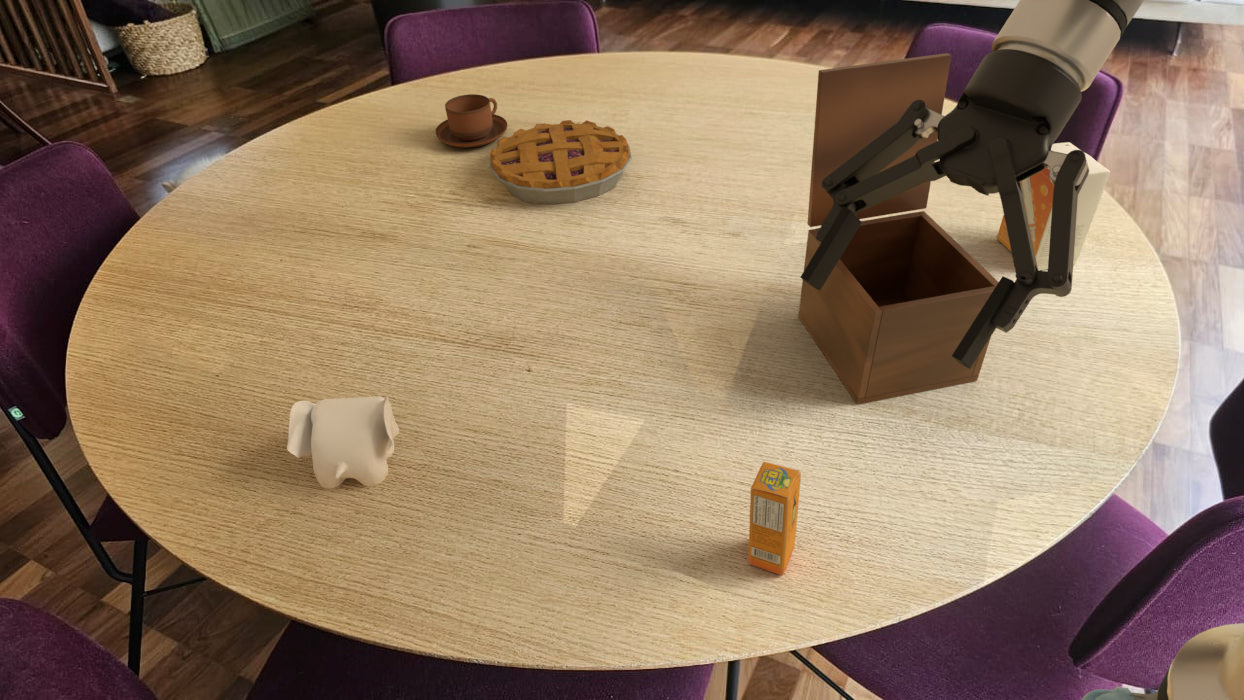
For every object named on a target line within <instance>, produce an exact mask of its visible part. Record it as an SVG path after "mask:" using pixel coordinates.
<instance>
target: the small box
mask: <svg viewBox="0 0 1244 700" xmlns="http://www.w3.org/2000/svg"><path fill="white" fill-rule="evenodd" d="M1074 150H1081V149H1080V148H1078V147H1077V146H1076V145H1074V144H1073V143H1072V142H1069V141H1065V142H1057V143H1053V145H1052V147H1051V151H1055V152H1060V153H1065V154H1068V153H1070V152H1071V151H1074ZM1084 153H1085V156H1086V160H1087V163H1088V168H1089V174H1088V176H1087V178H1086V180H1085V182H1084V184H1083V186H1082V188H1081V190H1080V192H1079V194H1078V201H1077V216H1076V231H1075V246H1074V261H1073V266H1076V265H1077V262H1078V261H1079V257H1080V254H1081V252H1082V250H1083V247H1084V244H1085V242H1086V239H1087V236H1088V233H1089V230H1090V228H1091V225H1092V223H1093V220H1094V217H1095V214H1096V211H1097V209H1098V206H1099V204H1100V201H1101V198H1102V197H1103V193H1104V190H1105V188H1106V185H1107V182H1108V179H1109V177H1110V174H1111V170H1110V169H1108V168H1107V167H1106V166H1104V165H1103V164H1102V163H1099V162H1098V161H1097V160H1095V158H1093V157H1092V156H1091V155H1090V154H1088V153H1086V152H1084ZM1020 183H1021V188H1022V192H1023V197H1024V202H1025V209H1026V214H1027V219H1028V224H1029V228H1030V233H1031V238H1032V242H1033V247H1034V252H1035V257H1036V261H1037V266H1038V271H1047V270H1048V260H1049V246H1050V232H1051V218H1052V205H1053V191H1054V184H1052V182H1051V180H1050V177H1049V170H1048V169H1047V168H1045V169H1043V170H1042V171H1040V172H1039V173H1037V174H1035V175H1033V176H1031V177H1029V178H1027V179H1025V180H1023V181H1021V182H1020ZM996 240H998V242H1000V243H1001V244H1002V245H1003V246H1004V247H1005V248H1006V249H1008V251H1010V253H1012V251H1011V247H1010V242H1009V237H1008V232H1007V227H1006V222H1005V217H1004V214H1003V215H1002V219H1001V221H1000V226H999V229H998V233H997V236H996Z"/></svg>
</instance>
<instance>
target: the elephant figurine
mask: <svg viewBox="0 0 1244 700" xmlns="http://www.w3.org/2000/svg"><path fill="white" fill-rule="evenodd" d="M392 405H393V404H392V403H391V402H390V397H389V396H387V395H386V396H385V397H383V396H381V395H374V396H373V395H372V396H360V397H359V396H357V397H339V398H338V397H337V398H324V399H321V400H319V401H317V402H316V403H314V402H312V401H309V400H299V401H296V402H295V403H294V404H293V405H292V406H291V408H290V412H289V419H288V434H287V435H288V436H287V445H286V450H287V451H288V452H289V453H290V454H291V455H293V456H295V458H297V459H300V458H307V457H310V456H311V460H312V468H313V474H314V476H315V478H316V481H317V483H318V484H319V485H320V486H321V487H322V488H324V489H329V490H330V489H335V488H337V487H340V486H341V485H342V484H343V483H344V481H345V480H346V479H354V480H356V481H358V482H359V483H360V484H361V485H362V486H364V487H369V488H370V487H373V486H377V485H379V484H380V483H382V482H383V481H385V479H386V477H387V476H388V474H389V464H388V462H387V461H388V459H389V458H390V457H391V456H393V454H394V452H395V448H396V447H395V440H394V439H395V438H396V437H397V436H399V433H400V428H399V425H398V424H397V422H396V419H395V416H394V413H393V409H392Z"/></svg>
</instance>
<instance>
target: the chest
mask: <svg viewBox="0 0 1244 700" xmlns="http://www.w3.org/2000/svg"><path fill="white" fill-rule="evenodd" d="M861 222H862V223H861V225H860V226H859V228H858V230H857V231H856V233H855V235H854V236H853V238H852V239H851V241H850V243H849V244H848V246H847V248H846V249H845V251H844V252H843V254H842V256H841V257H840V259H839V261H838V262H837V264H836V266H835V267H834V269H833V270H832V272H831V274H830V275H829V277H828V279H827V280H826V282H825V284H824V285H823V287H822V288H821V290H820V291H819V290H817V289H816V288H814V287H812V286H811V285H809V284H808V283H807V282H806V281H804V280H803V279H802V281H801V289H800V291H801V293H800V299H799V308H798V314H797V317H798V319H799V320H800V322H801V323H802V325H803V326H804V328H805V329H806V330H807V332H808V334H809V335H810V336H811V338H812V339H813V342H815V344H816V346H817V347H818V348H819V350H820V351H821V353H822V355H823V356H824V357H825V359H826V360H827V362H828V363H829V365H830V367H831V368H832V369H833V371H834V373H835V374H836V375H837V377H838V378H839V380H840V381H841V383H842V385H843V386H844V387H845V389H846V390H847V392H848V393H849V395H850V397H851V398H852V399H853V401H854V402H855V404H856V405H863V404H867V403H871V402H876V401H882V400H886V399H892V398H896V397H901V396H907V395H911V394H912V395H913V394H917V393H921V392H927V391H932V390H936V389H942V388H948V387H952V386H957V385H961V384H962V385H963V384H967V383H972V382H977V381H978V379H979V376H980V373H981V370H982V367H983V363H984V361H985V357H986V354H987V350H988V348H989V345H990V341H991V338H992V336H991V337H990V339H989V340H988V342H987V343H986V345H985V346H984V348H983V349H982V351H981V352H980V354H979V356H978V357H977V359H976V360H975V362H974V363H973V365H972V366H971V368H970V369H969V368H967V367H965V366H963V365H961V364H960V363H959V362H958V361H957V360H955V359H954V358H953V357H952V355H953V353H954V351H955V350H956V348H957V347H958V345H959V344H960V342H961V341H962V339H963V337H964V336H965V334H966V333H967V331H968V330H969V328H970V326H971V325H972V323H973V322H974V320H975V319H976V317H977V316H978V314H979V312H980V311H981V309H982V308H983V306H984V305H985V303H986V301H987V300H988V298H989V297H990V295H991V294H992V292H993V290H994V289H995V287H996V286H997V284H998V283H999V281H998V280H997V279H996V278H995V277H994V276H993V275H992V274H991V273H990V272H989V271H988V270H987V269H986V268H984V266H983V265H981V263H979V262H978V260H976V259H975V258H974V257H973V256H972V255H971V254H970V253H969V252H968V251H967V250H966V249H964V247H962V246H961V244H959V243H958V242H957V241H956V240H955V239H954V238H953V237H952V236H951V235H950V234H949V233H948V232H947V231H946V230H945V229H943V227H941V225H939V224H938V223H937V222H936V221H935V220H934V219H933V218H932V217H931V216H930V215H929V214H928V213H927V212H926V211H925V210H922V211H916V212H915V211H914V212H909V213H902V214H896V215H890V216H885V217H878V218H871V219H866V220H865V219H864V220H861ZM819 229H820V227H817V228H812V229H811V228H810V229H808V230H807V231H808V232H807V240H806V248H805V249H806V250H805V256H804V265H803V271H804V270H805V269H806V267H807V265H808V264H809V262H810V260H811V259H812V257H813V256H814V254H815V252H816V251H817V249H818V247H819V246H820V244H821V243H820V242H818V241H817V240H816V235H817V232H818V230H819Z"/></svg>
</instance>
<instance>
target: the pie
mask: <svg viewBox="0 0 1244 700" xmlns="http://www.w3.org/2000/svg"><path fill="white" fill-rule="evenodd" d="M632 156H633V155H632V151H631V146H630V144H629V143H628V140H627V138H626V137H624V135H622V134H620V135H619V134H618V133H617V132H616V130H615V129H614V128H613V127H611V126H609V125H607V126H604V127H602V126H598V125H597V124H596V122H593V121H590V120H584V121H583V122H582V123H575V122H573V120H571V119H567V120H562V121H561V122H560V123H555V124H550V123H545V122H543V123H536V124H535V125H534V126H533V128H528V129H523V128H519V129H518V130H516V131H515V132H513V134H512V135H511V136H509V137H507V136H504V137H502V138H499V139H498V140H497V143H496V147H495V148H492V149H491V150H490V155H489V164H488V169H489V170H490V171H491V173H492V174H493V175H494V177H495V179H497V180H498V181H499V182H500V183H502V184H503V185H504V187H505V188H506V189H507V191H508V192H509V193H510V194H511V196H514V197H516V198H518V199H520V200H522V201H523V202H525V203H535V204H540V205H541V204H542V205H555V204H566V203H567V204H568V203H576V202H580V201H583V200H587V199H592V198H595V197H599V196H601V195H603V194H605V193H607V192H608V191H611V190H612V189H614V188H616V187H617V185H618V183H619V181H620V180H621V178H622V176H623V174H624V172H625V170H626V169H627V167H628V165H629V164H630V163H631V161H632V159H633V157H632Z"/></svg>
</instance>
